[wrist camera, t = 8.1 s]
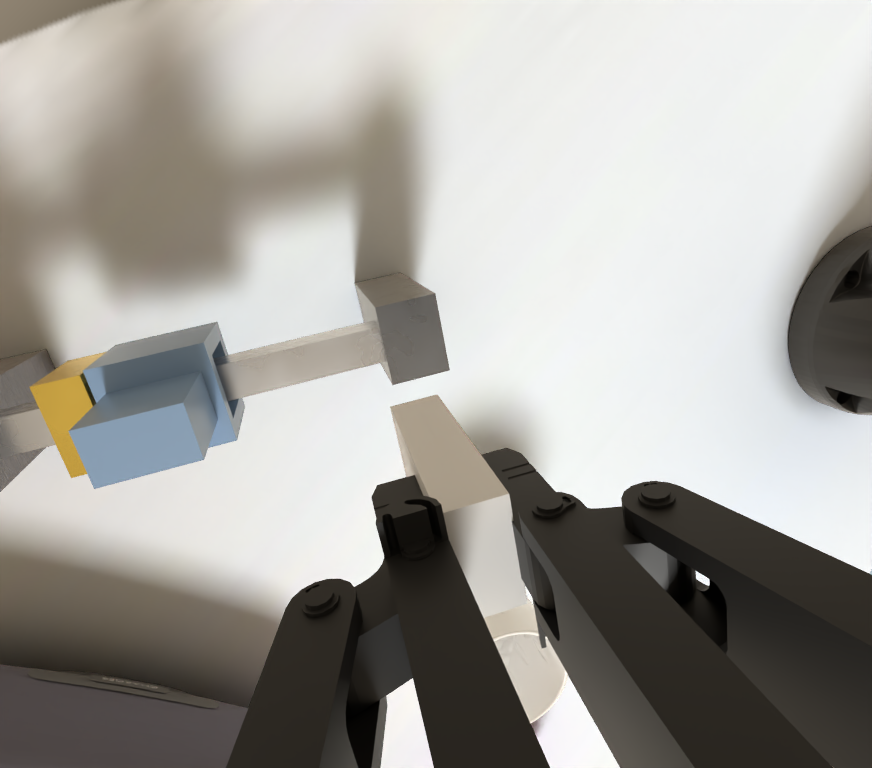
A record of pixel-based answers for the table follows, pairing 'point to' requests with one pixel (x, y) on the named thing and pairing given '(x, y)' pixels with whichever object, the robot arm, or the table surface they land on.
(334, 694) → the robot arm
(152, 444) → the sleeve
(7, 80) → the table surface
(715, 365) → the table surface
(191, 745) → the bluetooth speaker
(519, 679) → the white cup
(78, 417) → the rail
